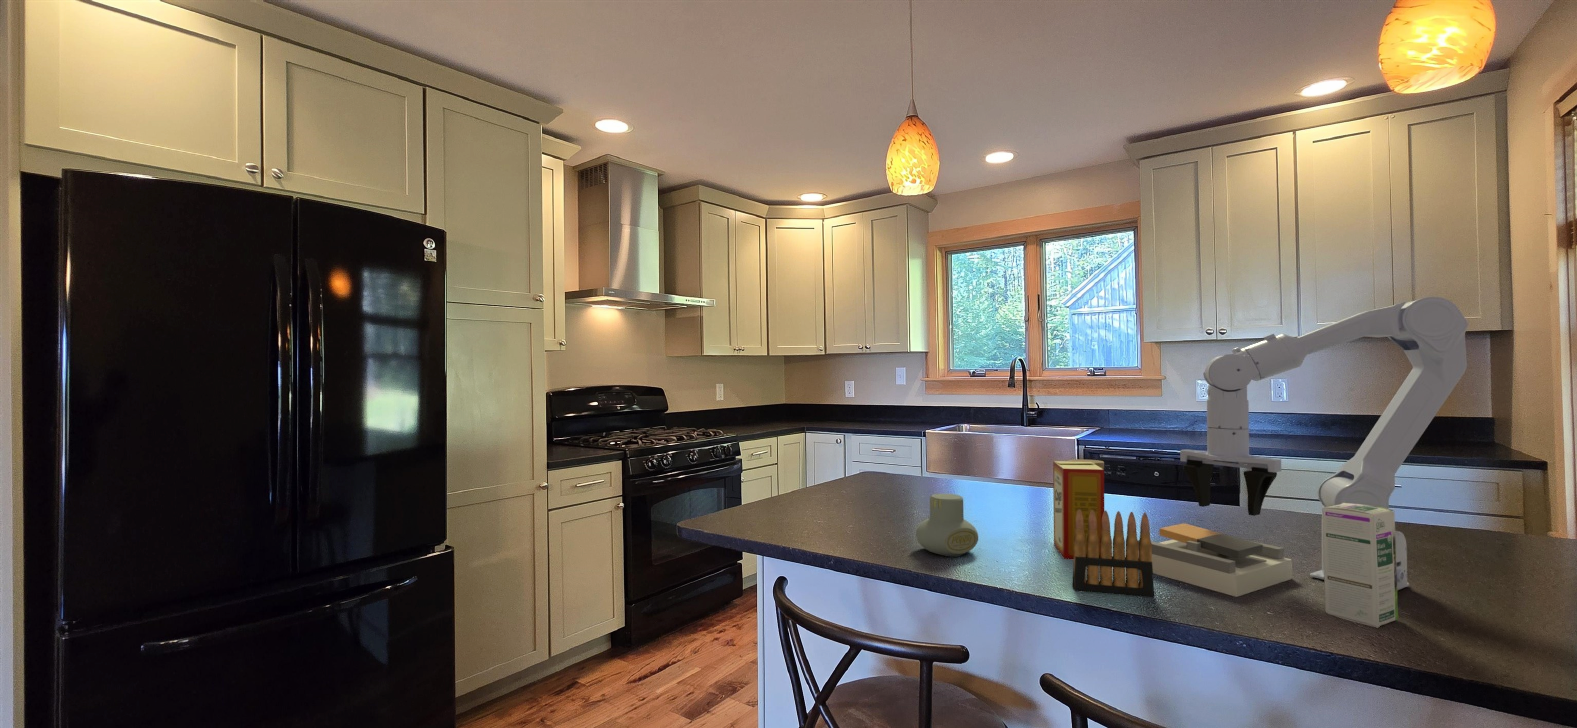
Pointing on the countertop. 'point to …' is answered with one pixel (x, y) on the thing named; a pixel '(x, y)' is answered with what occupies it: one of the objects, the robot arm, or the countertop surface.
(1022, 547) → the countertop surface
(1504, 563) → the countertop surface
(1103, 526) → the ammunition clip
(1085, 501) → the baking soda box
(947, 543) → the air freshener
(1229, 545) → the breaker rocker
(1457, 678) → the countertop surface
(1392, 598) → the syrup box
